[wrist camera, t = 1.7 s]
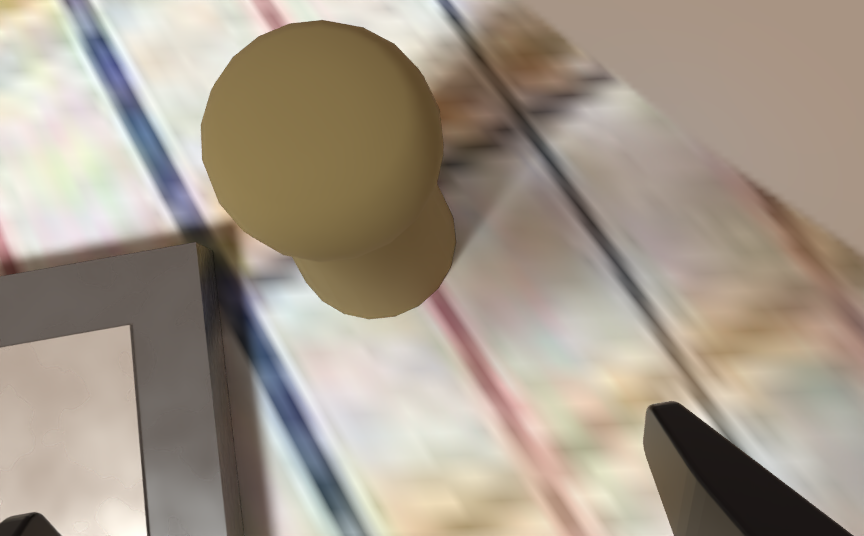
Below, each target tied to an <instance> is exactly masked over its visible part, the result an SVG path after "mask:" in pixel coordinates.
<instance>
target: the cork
mask: <svg viewBox="0 0 864 536" xmlns="http://www.w3.org/2000/svg"><path fill="white" fill-rule="evenodd" d="M201 141H202V160H203V163H204V166H205V168H206V171H207V173H208V176H209V178H210V181H211V183H212V186H213V189H214V191H215V194H216V196H217V199H218V201H219V203H220V205H221V206H222V207H223V208H224V209H225V210H226V212H227V213H228V214H229V215H230V216H231V217H232V219H233V220H234V221H235V222H236V223H237V224H238V226H239V227H240V228H241V229H242V230H243V231H244V232H246V233H247V234H249V235H250V236H252V237H253V238H255V239H257V240H259V241H260V242H262V243H264V244H265V245H267V246H269V247H271V248H272V249H274V250H276V251H277V252H279V253H281V254H283V255H287V256H291V257H292V258H293V259H294V261H295V263H296V265H297V267H298V269H299V270H300V272H301V274H302V276H303V278H304V279H305V281H306V283H307V284H308V285H309V286H310V287H311V289H312V290H313V291H314V292H315V293H316V294H317V295H318V297H319V298H320V299H321V300H322V301H323V302H325V303H327V304H328V305H330V306H332V307H333V308H335V309H337V310H339V311H340V312H342V313H344V314H347V315H352V316H357V317H361V318H366V319H376V318H385V317H395V316H397V315H399V314H402V313H404V312H406V311H408V310H411V309H413V308H415V307H417V306H419V305H420V304H422V303H423V302H424V301H425V300H426V299H427V298H428V297H429V296H430V295H432V294H433V293H434V292H435V291H436V290H437V289H438V288H439V286H440V284H441V283H442V281H443V279H444V278H445V276H446V274H447V272H448V271H449V269H450V267H451V263H452V259H453V254H454V249H455V245H456V238H455V229H454V220H453V216H452V214H451V212H450V210H449V208H448V205H447V203H446V201H445V199H444V197H443V195H442V193H441V191H440V189H439V187H438V185H437V181H438V176H439V172H440V167H441V162H442V158H443V146H444V145H443V136H442V127H441V118H440V109H439V107H438V105H437V103H436V101H435V99H434V97H433V95H432V93H431V91H430V88H429V86H428V84H427V82H426V80H425V78H424V76H423V75H422V73H421V72H420V70H419V69H418V68H417V67H416V66H415V65H414V64H413V63H412V62H411V60H410V59H409V58H408V57H407V56H406V55H405V54H404V53H403V52H402V51H401V50H400V49H399V48H398V47H397V46H396V45H395V44H394V43H392V42H390V41H388V40H386V39H384V38H382V37H380V36H378V35H376V34H375V33H373V32H371V31H369V30H367V29H365V28H363V27H358V26H352V25H347V24H341V23H336V22H330V21H325V20H319V21H310V22H301V23H291V24H288V25H285V26H283V27H280V28H278V29H276V30H273V31H271V32H268V33H266V34H263V35H261V36H259V37H257V38H256V39H255V40H254V41H252V42H251V43H250V44H249V45H247V46H246V47H245V48H244V49H242V50H241V51H240V52H239V53H238V54H236V55H235V56H234V57H233V58H232V59H231V61H230V62H229V64H228V65H227V67H226V68H225V69H224V71H223V72H222V74H221V75H220V77H219V78H218V80H217V81H216V83H215V84H214V86H213V88H212V90H211V92H210V96H209V99H208V102H207V106H206V109H205V113H204V116H203V119H202V123H201Z"/></svg>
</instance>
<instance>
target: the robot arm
mask: <svg viewBox="0 0 864 536" xmlns="http://www.w3.org/2000/svg"><path fill="white" fill-rule="evenodd" d="M643 445H644V451H645V455H646V458H647V461H648V464H649V466H650V469H651V472H652V475H653V478H654V481H655V483H656V486H657V489H658V492H659V495H660V497H661V500H662V503H663V506H664V509H665V512H666V514H667V517H668V520H669V523H670V526H671V528H672V531H673V534H674V536H853V535H852V534H851V533H849V532H848V531H847V530H845V529H844V528H843V527H841V526H840V525H839V524H837V523H836V522H835V521H834V520H832V519H831V518H830V517H828V516H827V515H826V514H824V513H823V512H822V511H820V510H819V509H818V508H816V507H815V506H814V505H813V504H811V503H810V502H809V501H807V500H806V499H805V498H803V497H802V496H801V495H799V494H798V493H797V492H795V491H794V490H793V489H792V488H790V487H789V486H788V485H786V484H785V483H784V482H782V481H781V480H780V479H778V478H777V477H776V476H774V475H773V474H772V473H771V472H769V471H768V470H767V469H765V468H764V467H763V466H761V465H760V464H759V463H757V462H756V461H755V460H753V459H752V458H751V457H750V456H748V455H747V454H746V453H744V452H743V451H742V450H740V449H739V448H738V447H736V446H735V445H734V444H732V443H731V442H730V441H728V440H727V439H726V438H725V437H723V436H722V435H721V434H719V433H718V432H717V431H715V430H714V429H713V428H711V427H710V426H709V425H707V424H706V423H705V422H704V421H702V420H701V419H700V418H698V417H697V416H696V415H694V414H693V413H692V412H690V411H689V410H688V409H686V408H685V407H684V406H683V405H681V404H680V403H678V402H674V401H669V402H663V403H657V404H652V405H650V406H649V407H648V408H647V411H646V418H645V428H644V437H643ZM0 536H61V534H60V533H59V532H58V531H57V530H56V529H55V528H54V527H53V525H52V524H51V523H50V522H49V521H48V520H47V519H46V518H45V517H44V516H43V515H42V514H41V513H38V512H31V513H25V514H19V515H14V516H11V517H8V518H6V519H5V520H3V521H2V522H1V523H0Z"/></svg>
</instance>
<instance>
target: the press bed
mask: <svg viewBox="0 0 864 536" xmlns="http://www.w3.org/2000/svg"><path fill="white" fill-rule="evenodd" d="M31 512H38V513H41V514H42V515H43V516H44V517H45V518H46V519H47V520H48V521H49V522H50V523H51V524H52V525H53V527H54V528H55V529H56V530H57V531H58V532H59V533H60V534H61V536H244V532H243V523H242V513H241V504H240V495H239V486H238V477H237V468H236V459H235V450H234V441H233V432H232V423H231V414H230V405H229V396H228V387H227V378H226V369H225V360H224V351H223V342H222V333H221V324H220V315H219V305H218V296H217V287H216V278H215V269H214V260H213V251H212V250H210V249H208V248H206V247H204V246H202V245H200V244H198V243H197V242H194V243H188V244H182V245H177V246H171V247H165V248H160V249H154V250H148V251H143V252H137V253H131V254H125V255H120V256H114V257H108V258H103V259H97V260H91V261H85V262H80V263H74V264H68V265H63V266H57V267H51V268H46V269H40V270H34V271H28V272H23V273H17V274H11V275H6V276H0V523H1V522H2V521H3V520H5V519H6V518H8V517H11V516H14V515H19V514H25V513H31Z"/></svg>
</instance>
